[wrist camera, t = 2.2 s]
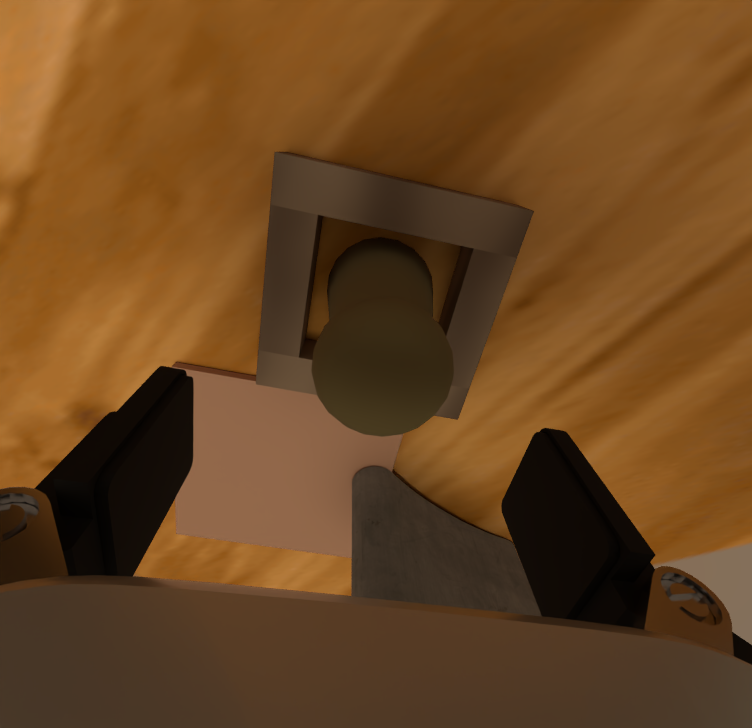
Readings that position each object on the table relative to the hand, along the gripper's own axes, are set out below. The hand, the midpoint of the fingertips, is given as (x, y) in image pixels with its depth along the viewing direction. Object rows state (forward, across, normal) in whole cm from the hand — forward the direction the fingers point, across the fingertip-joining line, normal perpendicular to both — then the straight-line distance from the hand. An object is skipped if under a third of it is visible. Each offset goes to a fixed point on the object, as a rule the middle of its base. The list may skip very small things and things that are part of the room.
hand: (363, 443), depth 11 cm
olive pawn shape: (+14, -1, 0) cm, 14 cm away
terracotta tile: (+14, +3, +14) cm, 20 cm away
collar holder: (+14, -1, 0) cm, 14 cm away
